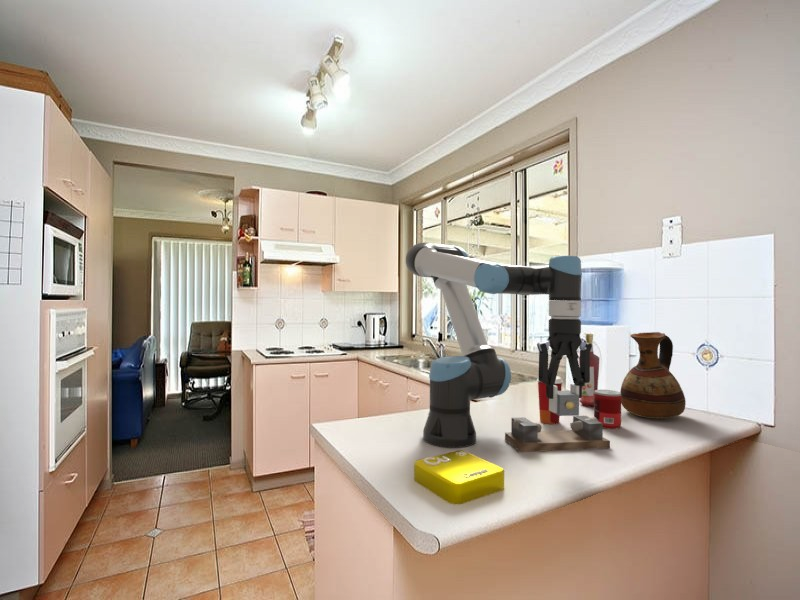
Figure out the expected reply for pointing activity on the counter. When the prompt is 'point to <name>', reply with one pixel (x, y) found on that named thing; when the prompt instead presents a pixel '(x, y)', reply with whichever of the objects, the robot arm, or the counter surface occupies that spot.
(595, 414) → the canned food
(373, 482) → the counter surface
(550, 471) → the counter surface
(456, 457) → the element tile
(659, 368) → the ceramic pitcher
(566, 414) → the coupler
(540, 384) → the coffee cup
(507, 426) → the counter surface
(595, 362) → the liquor
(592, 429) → the shaft stand
